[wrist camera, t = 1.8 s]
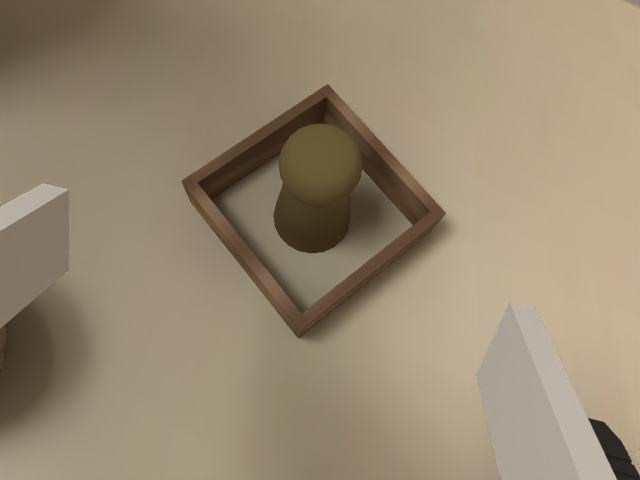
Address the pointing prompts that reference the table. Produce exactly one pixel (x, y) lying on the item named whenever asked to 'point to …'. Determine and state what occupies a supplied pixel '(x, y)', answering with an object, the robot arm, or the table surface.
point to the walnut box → (270, 143)
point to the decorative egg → (3, 344)
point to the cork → (316, 187)
